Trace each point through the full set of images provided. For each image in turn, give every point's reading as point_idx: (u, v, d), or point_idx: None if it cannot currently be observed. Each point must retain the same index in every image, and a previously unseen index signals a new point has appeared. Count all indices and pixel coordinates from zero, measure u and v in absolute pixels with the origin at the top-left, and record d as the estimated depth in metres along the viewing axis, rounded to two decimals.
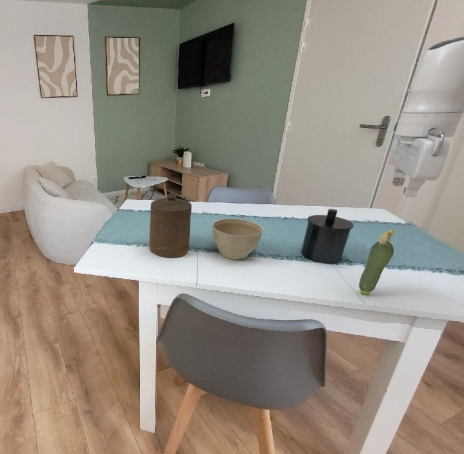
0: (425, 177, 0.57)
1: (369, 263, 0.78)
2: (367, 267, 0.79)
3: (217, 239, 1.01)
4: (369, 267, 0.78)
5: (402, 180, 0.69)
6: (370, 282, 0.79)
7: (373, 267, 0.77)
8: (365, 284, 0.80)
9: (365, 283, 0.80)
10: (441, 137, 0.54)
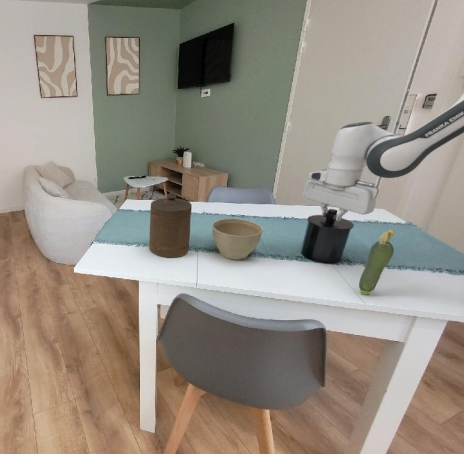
0: (368, 212, 0.85)
1: (369, 263, 0.78)
2: (367, 267, 0.79)
3: (217, 239, 1.01)
4: (369, 267, 0.78)
5: None
6: (370, 282, 0.79)
7: (373, 267, 0.77)
8: (365, 284, 0.80)
9: (365, 283, 0.80)
10: (377, 188, 0.82)
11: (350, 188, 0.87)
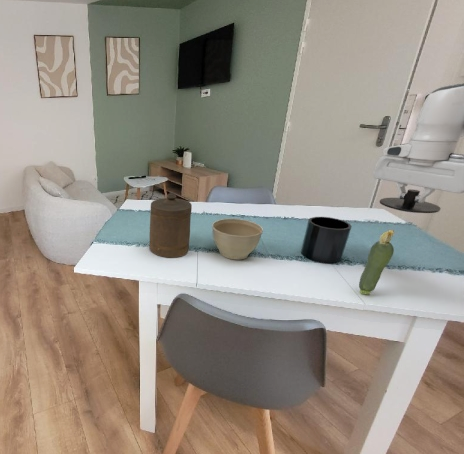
0: None
1: (369, 263, 0.78)
2: (367, 267, 0.79)
3: (217, 239, 1.01)
4: (369, 267, 0.78)
5: None
6: (370, 282, 0.79)
7: (373, 267, 0.77)
8: (365, 284, 0.80)
9: (365, 283, 0.80)
10: None
11: (442, 163, 0.74)
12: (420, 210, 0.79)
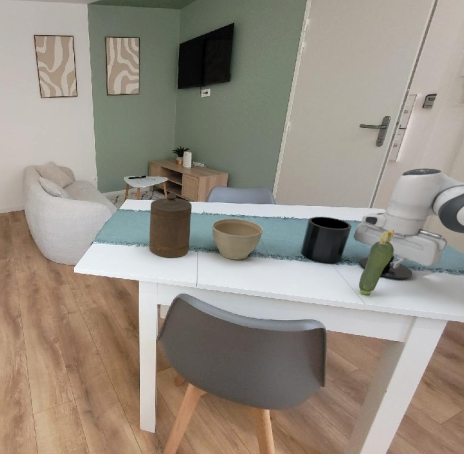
0: (433, 264, 0.80)
1: (369, 263, 0.78)
2: (367, 267, 0.79)
3: (217, 239, 1.01)
4: (369, 267, 0.78)
5: None
6: (370, 282, 0.79)
7: (373, 267, 0.77)
8: (365, 284, 0.80)
9: (365, 283, 0.80)
10: (445, 240, 0.77)
11: (412, 237, 0.82)
12: (394, 275, 0.87)
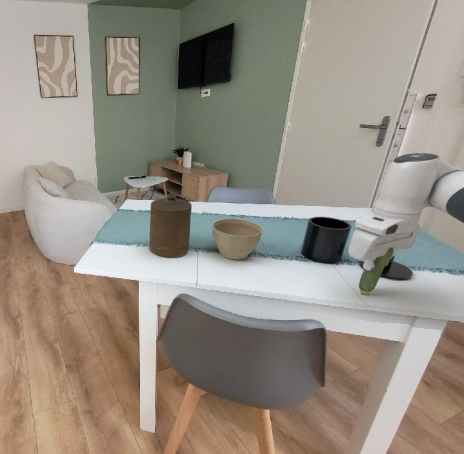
0: None
1: None
2: None
3: (217, 239, 1.01)
4: None
5: None
6: (370, 282, 0.79)
7: None
8: (365, 284, 0.80)
9: (365, 283, 0.80)
10: None
11: None
12: (394, 275, 0.87)
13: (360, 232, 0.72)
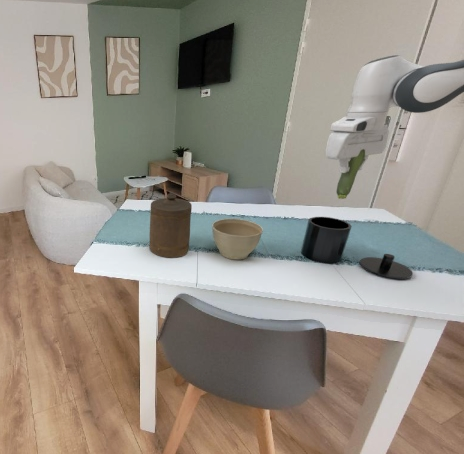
0: None
1: None
2: None
3: (217, 239, 1.01)
4: None
5: None
6: (346, 185, 0.88)
7: None
8: (341, 188, 0.89)
9: (341, 187, 0.89)
10: (386, 124, 0.85)
11: (378, 130, 0.83)
12: (394, 275, 0.87)
13: (335, 133, 0.81)
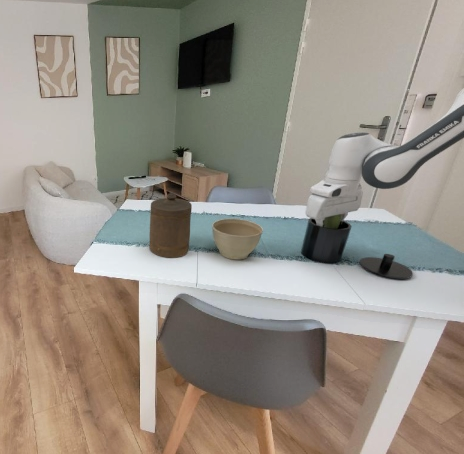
0: None
1: None
2: None
3: (217, 239, 1.01)
4: None
5: None
6: None
7: None
8: None
9: None
10: None
11: None
12: (394, 275, 0.87)
13: (314, 196, 0.91)
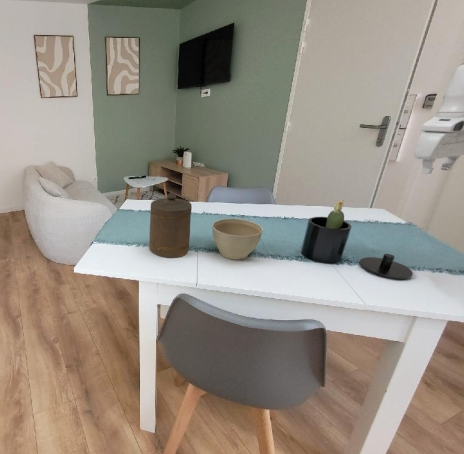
0: None
1: None
2: None
3: (217, 239, 1.01)
4: None
5: None
6: None
7: None
8: None
9: None
10: None
11: None
12: (394, 275, 0.87)
13: (427, 133, 0.81)
